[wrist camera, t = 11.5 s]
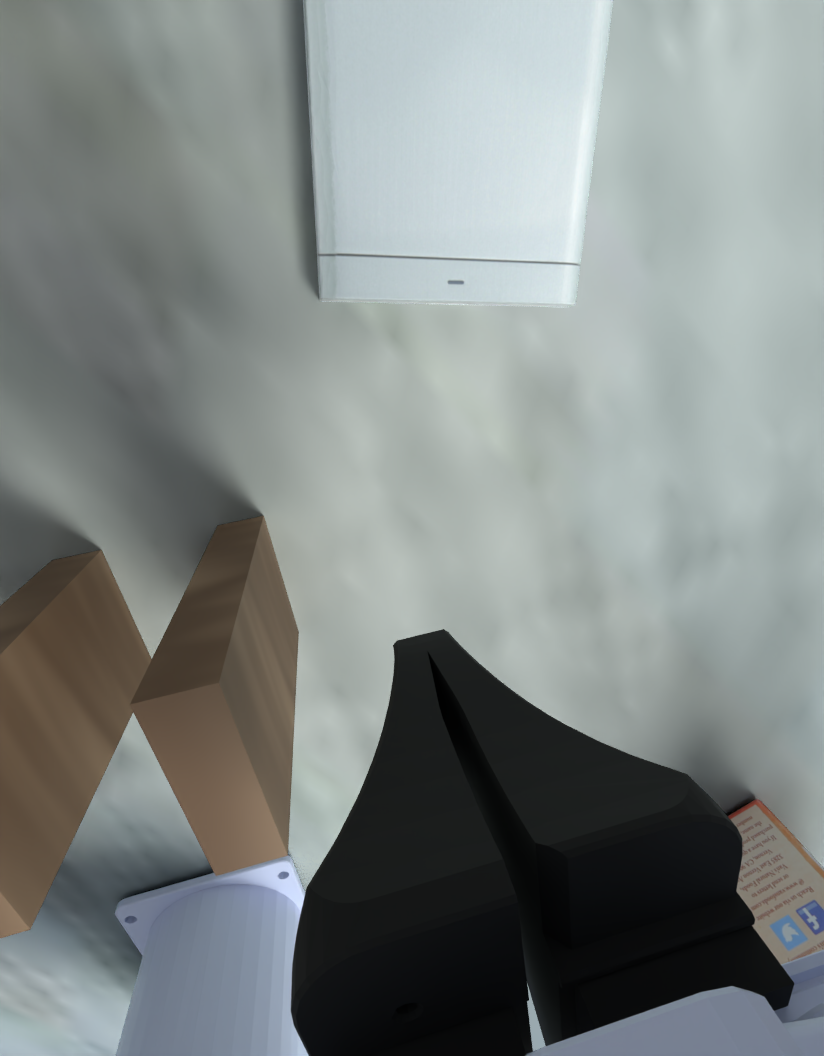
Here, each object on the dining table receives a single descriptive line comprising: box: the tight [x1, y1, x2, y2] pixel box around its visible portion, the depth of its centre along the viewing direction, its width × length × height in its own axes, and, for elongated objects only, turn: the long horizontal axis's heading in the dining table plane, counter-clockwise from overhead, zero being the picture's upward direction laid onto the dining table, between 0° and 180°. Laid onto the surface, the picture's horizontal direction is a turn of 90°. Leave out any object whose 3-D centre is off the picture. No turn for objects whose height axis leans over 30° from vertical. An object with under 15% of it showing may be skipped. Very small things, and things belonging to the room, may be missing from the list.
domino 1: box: [0, 550, 152, 938], centre depth 13 cm, size 2×5×9 cm, turn 9°
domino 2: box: [130, 516, 299, 876], centre depth 14 cm, size 2×5×9 cm, turn 9°
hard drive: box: [303, 0, 614, 307], centre depth 13 cm, size 2×8×12 cm
